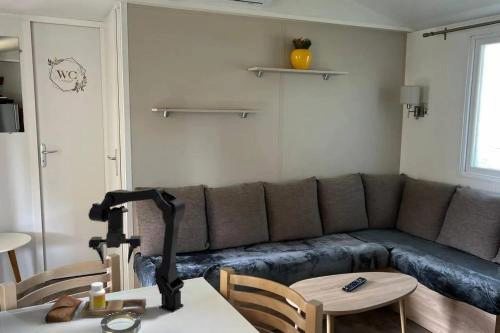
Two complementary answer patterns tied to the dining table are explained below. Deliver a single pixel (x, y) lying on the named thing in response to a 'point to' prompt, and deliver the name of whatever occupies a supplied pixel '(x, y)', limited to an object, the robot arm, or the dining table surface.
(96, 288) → the supplement bottle
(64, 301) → the sunglasses case
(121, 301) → the walnut dock
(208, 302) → the dining table surface
